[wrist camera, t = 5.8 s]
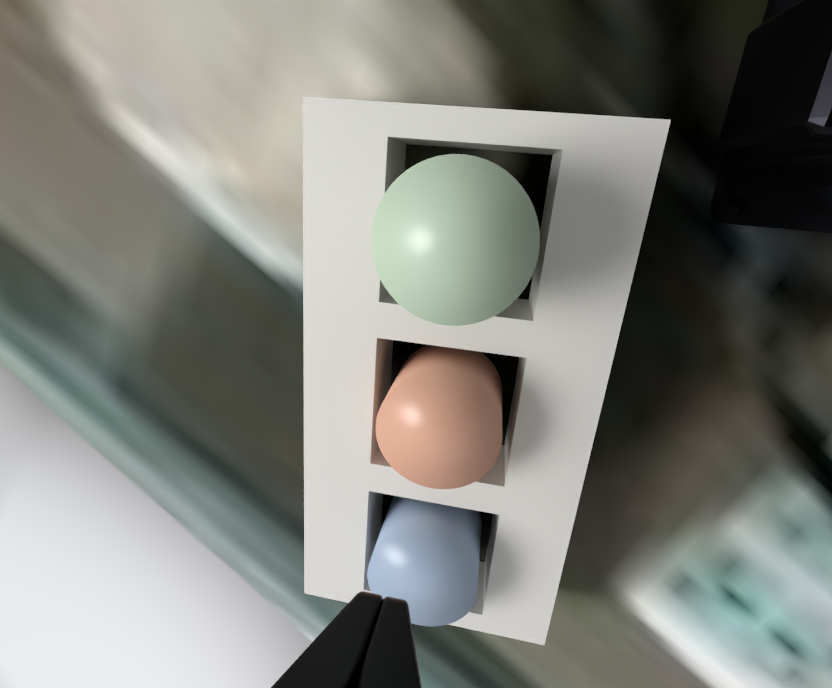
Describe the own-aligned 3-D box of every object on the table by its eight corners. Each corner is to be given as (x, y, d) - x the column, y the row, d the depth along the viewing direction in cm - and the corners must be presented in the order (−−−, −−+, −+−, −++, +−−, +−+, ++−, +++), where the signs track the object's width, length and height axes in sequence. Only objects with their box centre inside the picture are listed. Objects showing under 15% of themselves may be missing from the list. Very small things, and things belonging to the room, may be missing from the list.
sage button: (542, 166, 12) (554, 161, 9) (520, 303, 13) (525, 335, 10) (403, 155, 12) (375, 147, 10) (395, 287, 14) (367, 315, 11)
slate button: (487, 490, 17) (484, 550, 14) (475, 566, 18) (470, 636, 15) (391, 473, 17) (369, 528, 15) (385, 548, 19) (364, 613, 16)
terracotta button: (509, 348, 15) (511, 386, 12) (494, 444, 16) (492, 498, 14) (401, 334, 16) (379, 367, 13) (394, 428, 17) (372, 477, 14)
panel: (641, 130, 13) (671, 119, 11) (539, 588, 19) (544, 645, 17) (335, 110, 14) (302, 96, 12) (327, 545, 20) (304, 593, 18)
